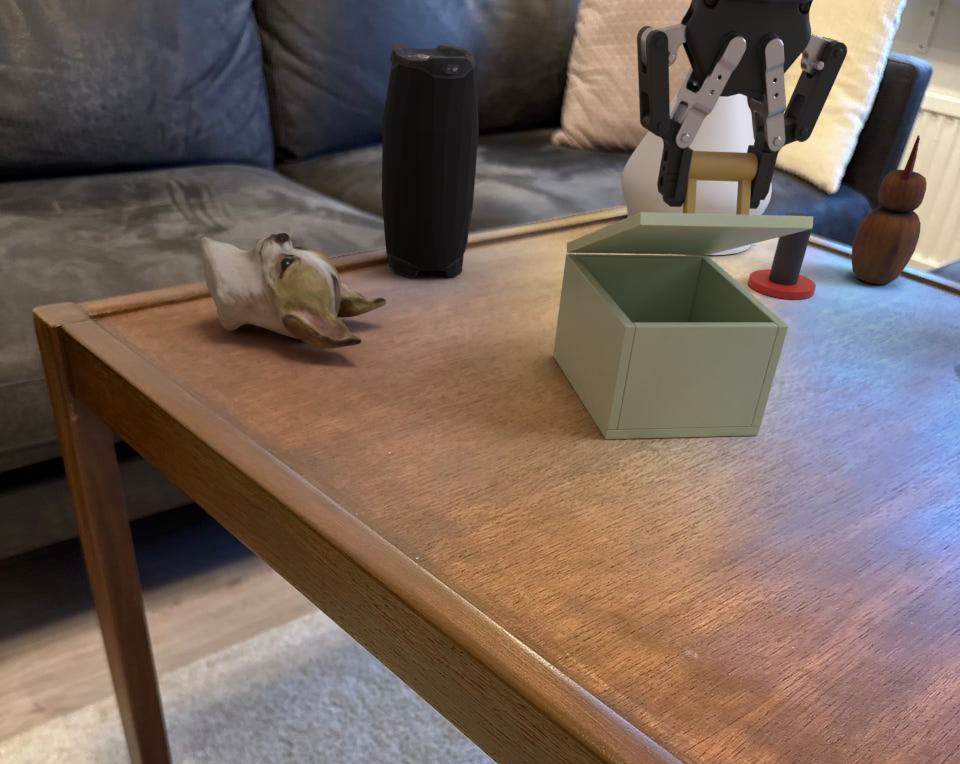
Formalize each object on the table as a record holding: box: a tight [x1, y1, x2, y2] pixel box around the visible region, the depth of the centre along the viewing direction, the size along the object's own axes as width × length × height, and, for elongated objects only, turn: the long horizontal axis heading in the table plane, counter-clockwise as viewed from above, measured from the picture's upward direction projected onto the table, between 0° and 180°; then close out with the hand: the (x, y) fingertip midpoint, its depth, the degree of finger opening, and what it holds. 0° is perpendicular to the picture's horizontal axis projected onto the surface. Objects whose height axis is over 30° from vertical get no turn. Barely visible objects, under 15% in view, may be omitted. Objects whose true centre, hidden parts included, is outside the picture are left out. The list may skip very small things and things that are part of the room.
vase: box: [620, 90, 773, 256], centre depth 110 cm, size 17×17×25 cm
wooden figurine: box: [851, 134, 928, 285], centre depth 105 cm, size 7×6×15 cm
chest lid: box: [566, 151, 814, 256], centre depth 73 cm, size 16×13×5 cm
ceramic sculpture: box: [200, 232, 387, 350], centre depth 83 cm, size 11×9×15 cm
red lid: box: [747, 212, 817, 300], centre depth 103 cm, size 7×7×7 cm
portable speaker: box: [381, 43, 480, 279], centre depth 95 cm, size 9×9×20 cm
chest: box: [552, 253, 789, 440], centre depth 79 cm, size 16×13×9 cm
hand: (710, 203), depth 69 cm, fingers closed on chest lid, 5 cm apart
